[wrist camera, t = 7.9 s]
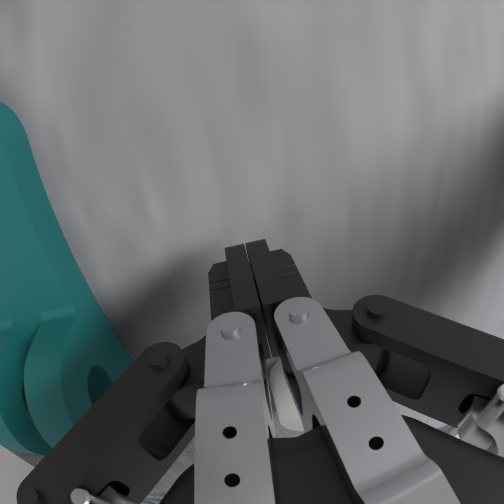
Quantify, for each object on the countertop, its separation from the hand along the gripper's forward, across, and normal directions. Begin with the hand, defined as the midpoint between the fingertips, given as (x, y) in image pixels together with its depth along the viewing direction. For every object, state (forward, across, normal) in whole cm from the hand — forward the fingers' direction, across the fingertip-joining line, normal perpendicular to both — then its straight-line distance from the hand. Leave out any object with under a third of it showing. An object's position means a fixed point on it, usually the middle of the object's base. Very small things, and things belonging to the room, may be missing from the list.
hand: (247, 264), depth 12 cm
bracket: (+3, +12, -1) cm, 12 cm away
